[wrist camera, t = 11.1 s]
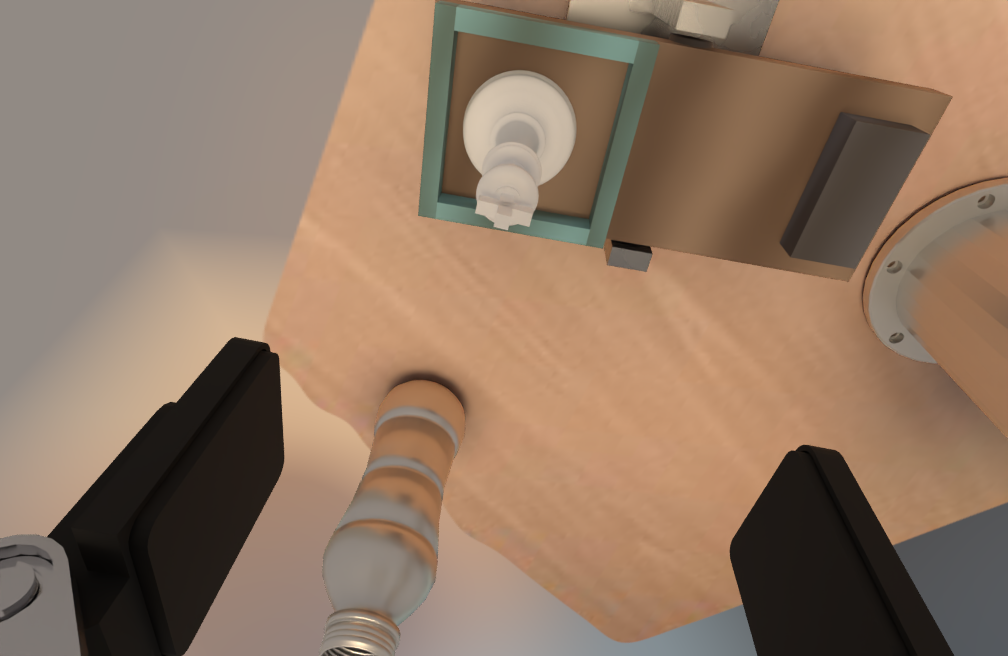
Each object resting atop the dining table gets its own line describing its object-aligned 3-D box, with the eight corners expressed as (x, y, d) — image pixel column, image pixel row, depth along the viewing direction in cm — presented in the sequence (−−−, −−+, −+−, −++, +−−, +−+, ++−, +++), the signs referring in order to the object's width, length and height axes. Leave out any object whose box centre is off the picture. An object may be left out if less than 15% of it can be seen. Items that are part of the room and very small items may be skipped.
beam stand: (774, -6, 29) (843, 9, 22) (687, 231, 36) (719, 297, 29) (578, -44, 29) (586, -40, 22) (530, 203, 36) (525, 263, 29)
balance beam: (923, 79, 25) (978, 99, 22) (827, 262, 30) (859, 301, 27) (445, -10, 24) (429, -4, 21) (427, 191, 29) (412, 221, 26)
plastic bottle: (439, 444, 48) (380, 709, 31) (369, 403, 46) (265, 663, 29) (486, 399, 45) (447, 666, 28) (412, 353, 43) (324, 611, 26)
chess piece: (475, 56, 24) (433, 115, 15) (591, 87, 24) (611, 161, 16) (453, 170, 26) (407, 274, 18) (558, 197, 27) (560, 311, 18)
